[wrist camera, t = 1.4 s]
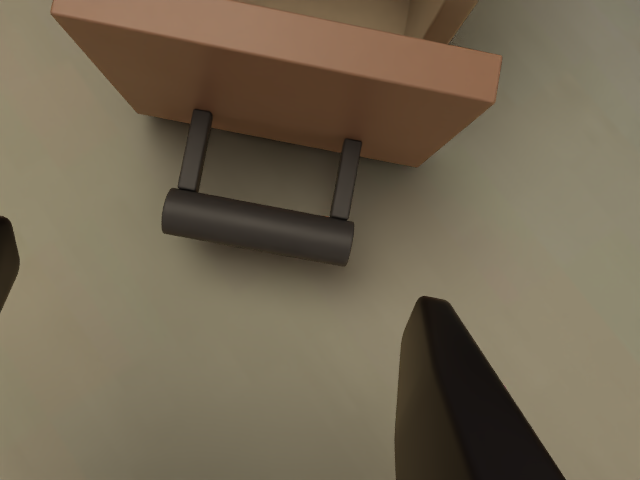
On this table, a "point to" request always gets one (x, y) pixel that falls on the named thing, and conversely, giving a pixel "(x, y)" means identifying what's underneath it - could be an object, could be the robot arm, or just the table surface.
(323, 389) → the table surface
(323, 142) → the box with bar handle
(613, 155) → the table surface
